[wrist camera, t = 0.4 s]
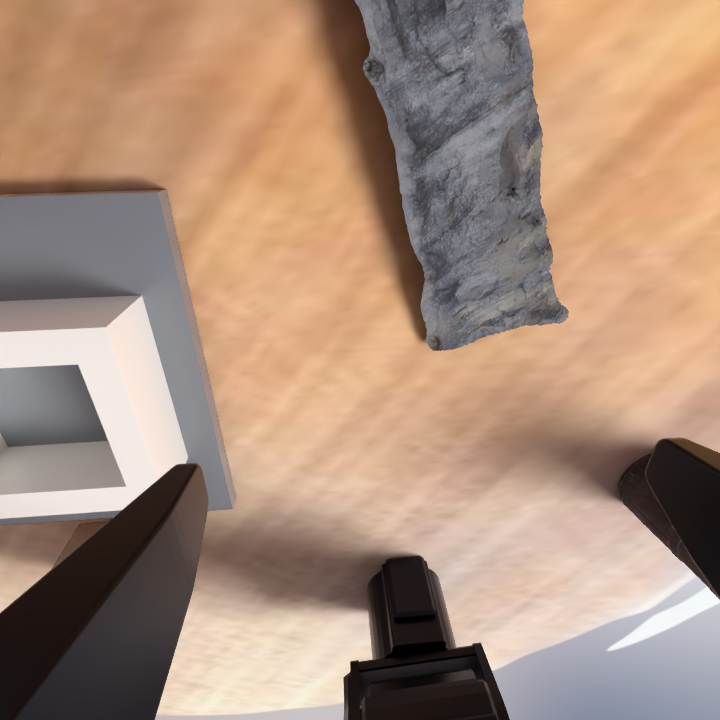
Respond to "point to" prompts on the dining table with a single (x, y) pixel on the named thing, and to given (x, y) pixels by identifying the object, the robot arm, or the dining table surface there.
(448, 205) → the grey flat stone bar
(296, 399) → the dining table surface
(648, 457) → the butter churn
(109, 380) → the square frame on plate
